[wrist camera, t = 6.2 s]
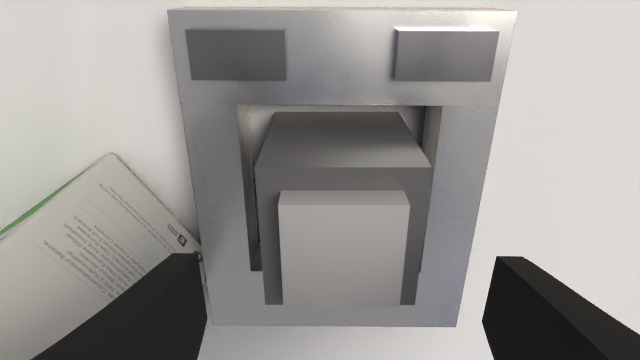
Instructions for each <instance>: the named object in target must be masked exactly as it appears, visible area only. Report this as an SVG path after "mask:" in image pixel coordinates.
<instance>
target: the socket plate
mask: <svg viewBox="0 0 640 360" xmlns="http://www.w3.org/2000/svg"><path fill="white" fill-rule="evenodd" d="M167 13H168V20H169V27H170V34H171V40H172V47H173V54H174V61H175V68H176V75H177V82H178V89H179V95H180V102H181V109H182V116H183V123H184V130H185V137H186V144H187V150H188V157H189V164H190V171H191V178H192V185H193V192H194V199H195V205H196V212H197V219H198V226H199V233H200V240H201V247H202V253H203V260H204V267H205V274H206V281H207V288H208V295H209V302H210V308H211V315H212V322H213V325H266V326H382V327H456V324H457V319H458V314H459V308H460V303H461V298H462V293H463V288H464V283H465V278H466V272H467V267H468V262H469V257H470V252H471V247H472V242H473V236H474V231H475V226H476V221H477V216H478V211H479V206H480V200H481V195H482V190H483V185H484V180H485V175H486V170H487V164H488V159H489V154H490V149H491V144H492V139H493V134H494V128H495V123H496V118H497V113H498V108H499V103H500V98H501V92H502V87H503V82H504V77H505V72H506V67H507V62H508V56H509V51H510V46H511V41H512V36H513V31H514V26H515V20H516V15H517V11H512V10H503V9H495V8H327V7H184V8H177V9H169V10H167ZM248 105H413V106H426V114H425V122H424V131H423V139H422V148H421V150H422V152H423V153H424V155H425V157H426V158H427V160H428V162H429V163H430V165H431V167H432V172H431V180H430V188H429V196H428V204H427V212H426V220H425V229H424V237H423V245H422V253H421V261H420V269H419V277H418V285H417V293H416V301H415V305H400V307H283V305H265V296H264V283H263V270H262V258H261V245H260V242H258V232H257V218H256V204H255V191H254V177H253V164H252V150H251V136H250V123H249V109H248Z"/></svg>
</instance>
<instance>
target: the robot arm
mask: <svg viewBox="0 0 640 360" xmlns="http://www.w3.org/2000/svg"><path fill="white" fill-rule="evenodd" d="M206 322H207V312H206V306H205V299H204V292H203V285H202V279H201V272H200V265H199V259H198V253H172V254H171V255H169V256H168V257H167V258H165V259H164V260H163V261H162V262H160V263H159V264H158V265H157V266H155V267H154V268H153V269H152V270H150V271H149V272H148V273H147V274H146V275H144V276H143V277H142V278H141V279H139V280H138V281H137V282H136V283H135V284H133V285H132V286H131V287H130V288H128V289H127V290H126V291H124V292H123V293H122V294H121V295H119V296H118V297H117V298H116V299H114V300H113V301H112V302H111V303H109V304H108V305H107V306H106V307H104V308H103V309H102V310H100V311H99V312H97V313H96V314H95V315H93V316H92V317H91V318H89V319H88V320H87V321H85V322H84V323H82V324H81V325H80V326H78V327H77V328H76V329H74V330H73V331H71V332H70V333H69V334H67V335H66V336H65V337H63V338H62V339H61V340H59V341H58V342H56V343H55V344H53V345H52V346H50V347H49V348H47V349H46V350H44V351H43V352H41V353H40V354H38V355H37V356H35V357H34V358H32V359H31V360H197V358H198V354H199V350H200V346H201V343H202V339H203V335H204V330H205V326H206ZM482 323H483V327H484V330H485V333H486V336H487V340H488V343H489V346H490V349H491V352H492V355H493V358H494V360H640V335H639V334H638V333H636V332H635V331H633V330H631V329H630V328H628V327H627V326H625V325H624V324H622V323H621V322H619V321H618V320H616V319H614V318H613V317H611V316H610V315H608V314H607V313H605V312H604V311H602V310H601V309H599V308H598V307H597V306H595V305H594V304H592V303H591V302H589V301H588V300H586V299H585V298H583V297H582V296H580V295H579V294H578V293H576V292H575V291H573V290H572V289H570V288H569V287H567V286H566V285H565V284H563V283H562V282H560V281H559V280H557V279H556V278H554V277H553V276H551V275H550V274H549V273H547V272H546V271H544V270H543V269H541V268H540V267H538V266H537V265H535V264H534V263H532V262H530V261H529V260H527V259H525V258H524V257H514V256H497V257H496V261H495V265H494V270H493V274H492V279H491V283H490V288H489V292H488V297H487V301H486V305H485V310H484V314H483V319H482Z"/></svg>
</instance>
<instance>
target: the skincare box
mask: <svg viewBox="0 0 640 360" xmlns="http://www.w3.org/2000/svg"><path fill="white" fill-rule="evenodd" d="M172 253H198V259H199V265H200V272H201V279H202V285H204V283H205V281H206V274H205V267H204V260H203V253H202V247H201V245H200V244H199V243H198V242H197V241H196V239H195V238H194V237H193V236H192V235H191V234H190V233H189V232H188V231H187V230H186V229H185V228H184V227H183V225H182V224H181V223H180V222H179V221H178V220H177V219H176V218H175V217H174V216H173V215H172V214H171V213H170V212H169V211H168V210H167V208H166V207H165V206H164V205H163V204H162V203H161V202H160V201H159V200H158V199H157V198H156V197H155V196H154V195H153V194H152V193H151V192H150V191H149V190H148V189H147V188H146V187H145V185H144V184H143V183H142V182H141V181H140V180H139V179H138V178H137V177H136V176H135V175H134V174H133V173H132V172H131V171H130V170H129V169H128V168H127V167H126V166H125V165H124V164H123V163H122V162H121V161H120V159H119V158H118V157H117V156H116V155H114V154H112V153H110V154H107V155H106V156H104V157H103V158H101V159H100V160H99V161H97V162H96V163H94V164H93V165H92V166H90V167H89V168H87V169H86V170H85V171H83V172H82V173H80V174H79V175H78V176H76V177H75V178H74V179H72V180H71V181H70V182H68V183H67V184H65V185H64V186H63V187H61V188H60V189H58V190H57V191H56V192H54V193H53V194H51V195H50V196H49V197H47V198H46V199H45V200H43V201H42V202H40V203H39V204H38V205H36V206H35V207H33V208H32V209H31V210H29V211H28V212H26V213H25V214H24V215H22V216H21V217H20V218H18V219H17V220H15V221H14V222H13V223H11V224H10V225H9V226H7V227H6V228H5V229H3V230H2V231H0V360H31V359H32V358H34V357H35V356H37V355H38V354H40V353H41V352H43V351H44V350H46V349H47V348H49V347H50V346H52V345H53V344H55V343H56V342H58V341H59V340H61V339H62V338H63V337H65V336H66V335H67V334H69V333H70V332H71V331H73V330H74V329H76V328H77V327H78V326H80V325H81V324H82V323H84V322H85V321H87V320H88V319H89V318H91V317H92V316H93V315H95V314H96V313H97V312H99V311H100V310H102V309H103V308H104V307H106V306H107V305H108V304H109V303H111V302H112V301H113V300H114V299H116V298H117V297H118V296H119V295H121V294H122V293H123V292H124V291H126V290H127V289H128V288H130V287H131V286H132V285H133V284H135V283H136V282H137V281H138V280H139V279H141V278H142V277H143V276H144V275H146V274H147V273H148V272H149V271H150V270H152V269H153V268H154V267H155V266H157V265H158V264H159V263H160V262H162V261H163V260H164V259H165V258H167V257H168V256H169V255H171V254H172Z"/></svg>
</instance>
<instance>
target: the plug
mask: <svg viewBox="0 0 640 360" xmlns="http://www.w3.org/2000/svg"><path fill="white" fill-rule="evenodd" d="M254 169H255V182H256V194H257V207H258V220H259V232H260V245H261V258H262V270H263V283H264V296H265V305H283V307H400V305H415V301H416V293H417V285H418V277H419V269H420V261H421V253H422V245H423V237H424V229H425V220H426V212H427V204H428V196H429V188H430V180H431V172H432V167H431V165H430V163H429V162H428V160H427V158H426V157H425V155H424V153H423V152H422V150H421V149H420V147H419V145H418V144H417V142H416V140H415V139H414V137H413V135H412V134H411V132H410V131H409V129H408V127H407V126H406V124H405V122H404V121H403V119H402V117H401V116H400V114H399V113H398V112H276V113H275V116H274V118H273V121H272V124H271V126H270V129H269V131H268V134H267V136H266V139H265V142H264V144H263V147H262V149H261V152H260V154H259V157H258V159H257V162H256V165H255V167H254Z"/></svg>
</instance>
